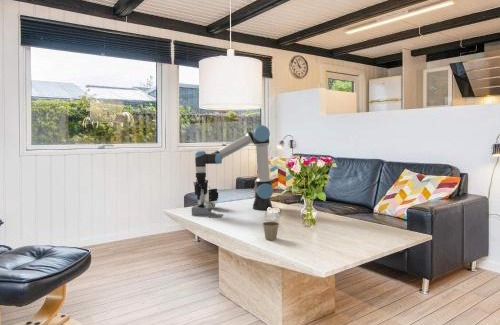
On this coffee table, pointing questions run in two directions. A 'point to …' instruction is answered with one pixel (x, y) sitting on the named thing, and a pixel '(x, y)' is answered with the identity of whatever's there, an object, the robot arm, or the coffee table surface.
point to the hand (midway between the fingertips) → (201, 203)
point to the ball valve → (211, 196)
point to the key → (202, 196)
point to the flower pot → (270, 230)
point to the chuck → (201, 210)
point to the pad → (216, 215)
